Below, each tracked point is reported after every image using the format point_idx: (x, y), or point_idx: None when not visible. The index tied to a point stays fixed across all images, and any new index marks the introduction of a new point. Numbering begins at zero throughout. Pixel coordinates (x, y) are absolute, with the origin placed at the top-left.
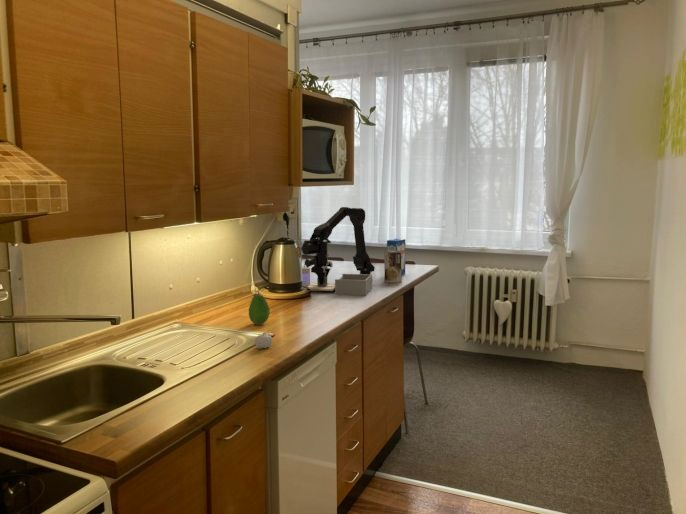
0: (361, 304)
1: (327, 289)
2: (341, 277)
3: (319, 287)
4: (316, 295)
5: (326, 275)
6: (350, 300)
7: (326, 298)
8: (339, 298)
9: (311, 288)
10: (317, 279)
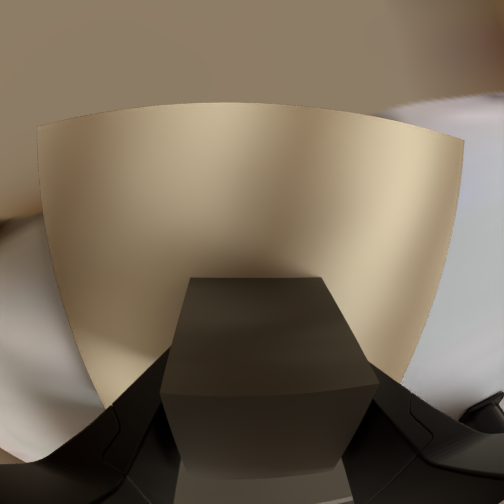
0: (28, 455)
1: (101, 394)
2: (341, 499)
3: (142, 316)
4: (21, 289)
5: (352, 472)
6: (46, 445)
7: (2, 363)
8: (44, 419)
9: (51, 225)
10: (168, 362)
